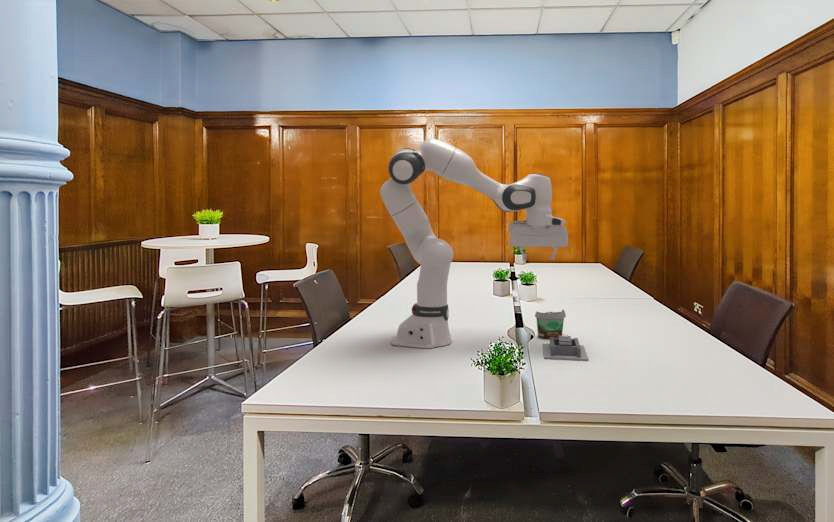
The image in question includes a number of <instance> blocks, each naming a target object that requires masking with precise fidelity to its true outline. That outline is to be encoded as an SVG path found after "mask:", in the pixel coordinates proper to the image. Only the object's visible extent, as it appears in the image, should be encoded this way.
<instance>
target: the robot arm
mask: <svg viewBox="0 0 834 522" xmlns="http://www.w3.org/2000/svg"><path fill="white" fill-rule="evenodd" d="M387 167H388V169H387V170H388V175H389V177H390V178H389V179H388V180H386V181H385V182H384V183H383V184H382V185H381V187H380V190H379V193H380V196H381V197H380V198H381V199H382V202H383V203H384V206H385V208H386V210H387V212H388V213H389V215H390V217H391V219H393V222H394V223H395V225H396V227H397V228H398V230H399V231H400V233H401V235H402V236H403V239H404V241H405V243H406V245H407V248H408V249H409V252H410V253H411V255H412V257H413V259H414V261H416V262H417V263H418V264H419V265H420V269H419V275H418V281H417V283H416V302H417V303H414V304H413V305H412V307H411V315H410V316H408V317H407V318H406V319H405V320H403V321H402V322H401V323H400V324H399V325H398V327H397V332H396V335H394V336H393V337H392V338H391V340H390V345H392V346H399V347H406V348H407V347H409V348H416V349H417V348H418V349H429V350H430V349H434V348H437V347H444V346H448V345H450V344H452V343H453V341H452V338H451V337H452V336H451V333H450V329H449V328H450V327H449V318H450V317H449V316H450V313H449V304H448V279H449V275H450V268H451V263H452V262H453V259H454V250H453V248H452V246H451V245H450V244H449V243H448V242H447V241H446V240H444V239H442V238H438V237H437V236H436V235H435V234H434V231H433V228H432V226H431V224H430V219H429V217H428V215H427V214H426V212H425V210H424V208H423V207H422V205H421V204H420V202H419V201H418V199H417V197H416V196H415V193H414V192H413V190H412V187H411V186H412V185H411V184H412V183H413V182H414V181H415V182H416V180H417V179H418V178H419V177H420V176H421V175H422V174H423V173H424V172H425V171H430V172H432V173H435V175H438V176H440V177H441V178H442V179H445V180H448V181H451V182H453V183H456V184H460V185H461V186H467V187H470V188H472V189H474V190H476V192H477V191H478V193H481V194H483V195H484V196H485V197H488V198H489V199H490V200H492V202H493V203H494V204H495V206H496V207H497V208H498V209H499V210H500V211H502V212H506V213H512V212H518V211H522V210H525V220H513V221H511V222H510V223H509V224H508V232H509V233H510V234H509V242H508V243H509V246H510V247H512V248H513V247H514V248H517V247H518V248H519V252H520V253H521V255H522V260H523V261H524V260H527V257H528V255H527V254H526V253H524V250H525V248H530V247H532V248H553V253H552V254H549V260H550V261H554V260H555V255H556V254H557V252H558V249H559V248H566V247H568V245H569V235H568V229H567V228H566V226H564V225H565V224H566V221H565V219H563V218H560V217H558V216H554V215H553V214H552V213H553V212H552V211H553V209H552V200H553V188H552V187H553V186H552V180H551V178H550V177H549V176H548V175H546V174H542V173H529V174H528V175H526V176H525V177H524V178H522V179H520V180H517V181H515V182H513V183H510V184H507V183H501V182H498V181H496V180H495V179H493V178H491V177H489V176H488V175H486V174H485V173H483V172H482V171H480V169H478V167H477V166H476V164H475V161H474V160H473V158H472V157H471V156H470V155H468V154H467V153H466V152H465V151H463V150H461V149H460V148H458V147H456V146H454V145H452V144H451V143H448V142H446V141H443V140H440V139H437V138H434V137H429V138H426V139H425V140H424V141H423V142H421V145H420V146H419V148H417V149H416V150H415V149H413V148H411V147H404V148H401V149H399V150H398V151H396V152H395V153H393V155H392V157H391V158H390V160H389V163H388V165H387Z"/></svg>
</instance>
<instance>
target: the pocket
mask: <svg viewBox="0 0 834 522" xmlns="http://www.w3.org/2000/svg"><path fill="white" fill-rule="evenodd" d="M571 340H572V346H560V345H558V338H553V337H550V339H549V343H542V349H543V350H542V351H543V360H559V361H560V360H562V361H577V362H578V361H579V362H580V361H582V362H589V357H588V354H587V351H586V347H585V345H584V344H582V345H581V344H580V342H579V339H578V337H574V338H571Z"/></svg>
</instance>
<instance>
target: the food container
mask: <svg viewBox="0 0 834 522" xmlns="http://www.w3.org/2000/svg"><path fill="white" fill-rule="evenodd" d="M534 314H535V315H534V317H535V318H536V327H537V338H540V339H543V340H544V339H545V340H550V337H553V338H558V335H560V336H562V335H563V330H564V319H565V318H566V317H567V314H566V312H565V310H564V309H561V311H558V312H557V311H547V312H539V311H536V312H535V313H534Z"/></svg>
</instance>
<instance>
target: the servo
mask: <svg viewBox="0 0 834 522" xmlns="http://www.w3.org/2000/svg"><path fill="white" fill-rule="evenodd" d="M571 339H572V337H571V335H568V334H562V336H560V335H558V345H560V346H572V340H571Z"/></svg>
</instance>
